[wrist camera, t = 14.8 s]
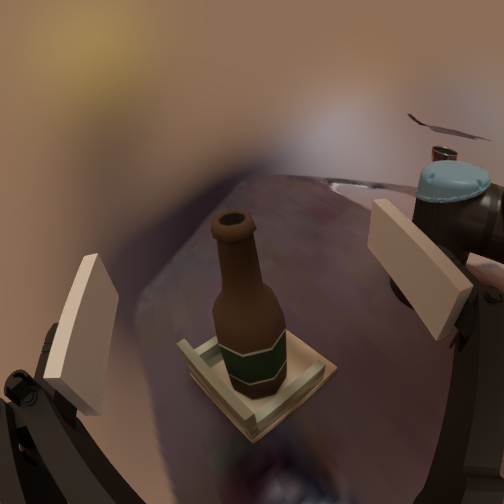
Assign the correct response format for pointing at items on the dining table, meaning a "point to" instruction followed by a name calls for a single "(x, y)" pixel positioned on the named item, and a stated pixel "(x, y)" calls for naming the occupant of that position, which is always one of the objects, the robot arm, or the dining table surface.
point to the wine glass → (443, 154)
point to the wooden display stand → (266, 408)
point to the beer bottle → (247, 311)
